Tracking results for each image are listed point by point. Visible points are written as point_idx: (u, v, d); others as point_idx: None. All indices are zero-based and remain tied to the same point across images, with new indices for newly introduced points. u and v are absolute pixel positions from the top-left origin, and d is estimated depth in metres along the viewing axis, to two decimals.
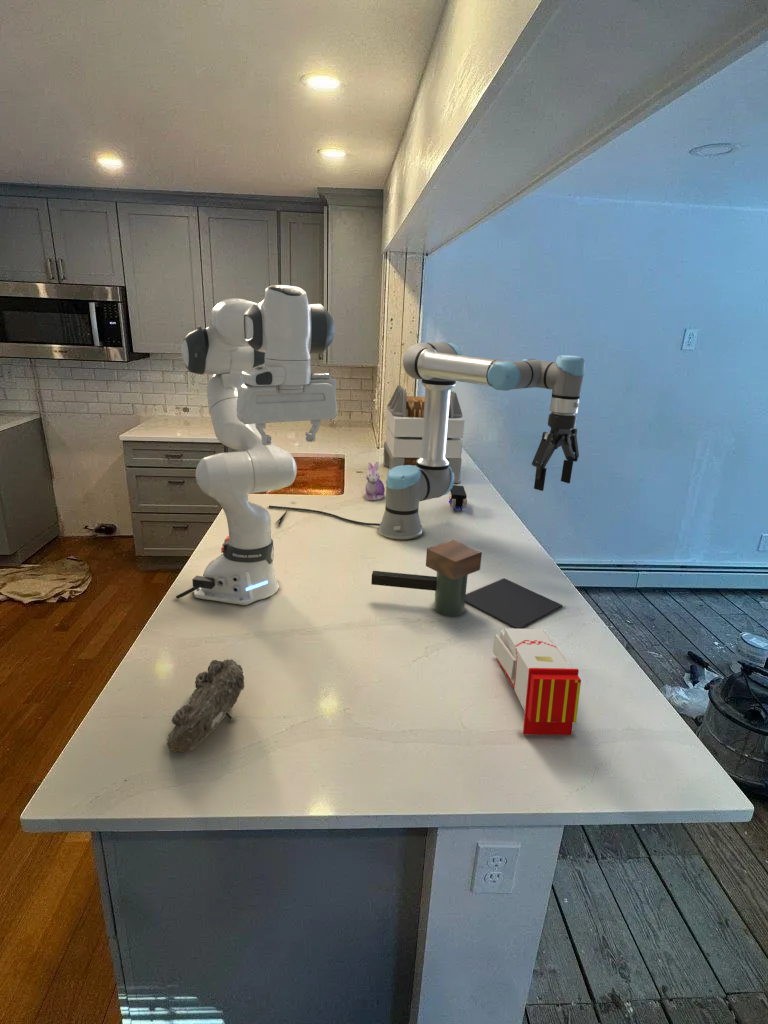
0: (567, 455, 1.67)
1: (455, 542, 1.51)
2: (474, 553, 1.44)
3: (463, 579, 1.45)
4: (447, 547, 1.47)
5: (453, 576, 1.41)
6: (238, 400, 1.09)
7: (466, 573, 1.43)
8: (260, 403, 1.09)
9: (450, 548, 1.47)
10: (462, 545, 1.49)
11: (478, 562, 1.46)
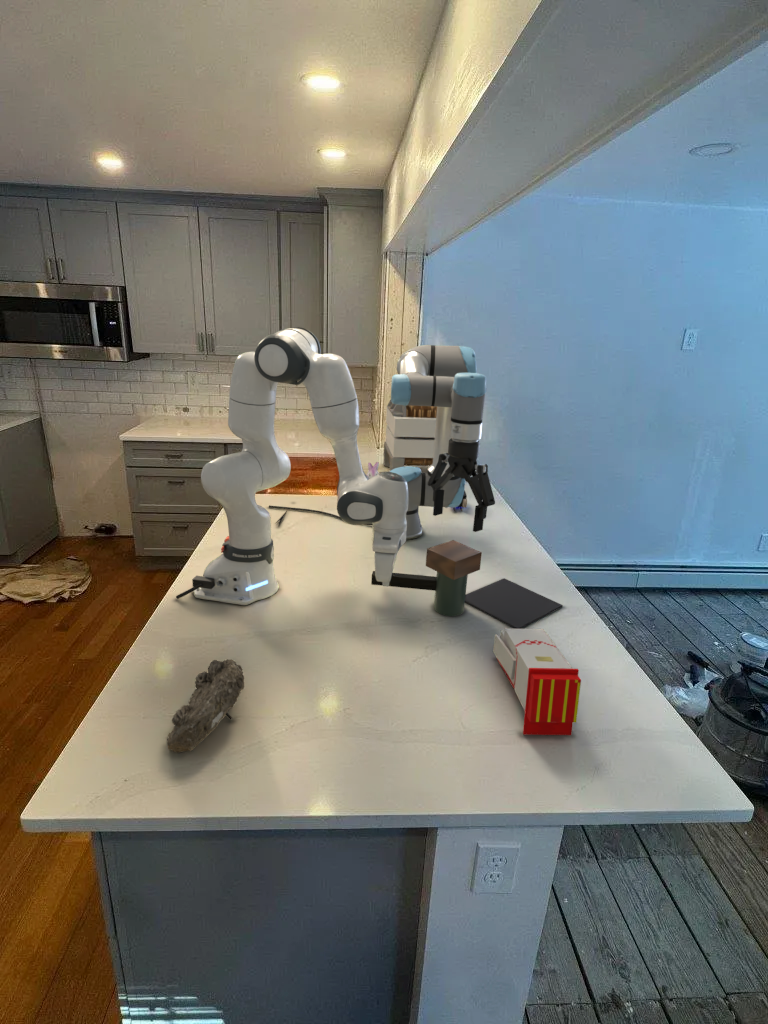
0: None
1: (455, 542, 1.51)
2: (474, 553, 1.44)
3: (463, 578, 1.45)
4: (447, 547, 1.47)
5: (453, 576, 1.41)
6: (379, 566, 1.39)
7: (466, 573, 1.43)
8: None
9: (450, 548, 1.47)
10: (462, 545, 1.49)
11: (478, 562, 1.46)
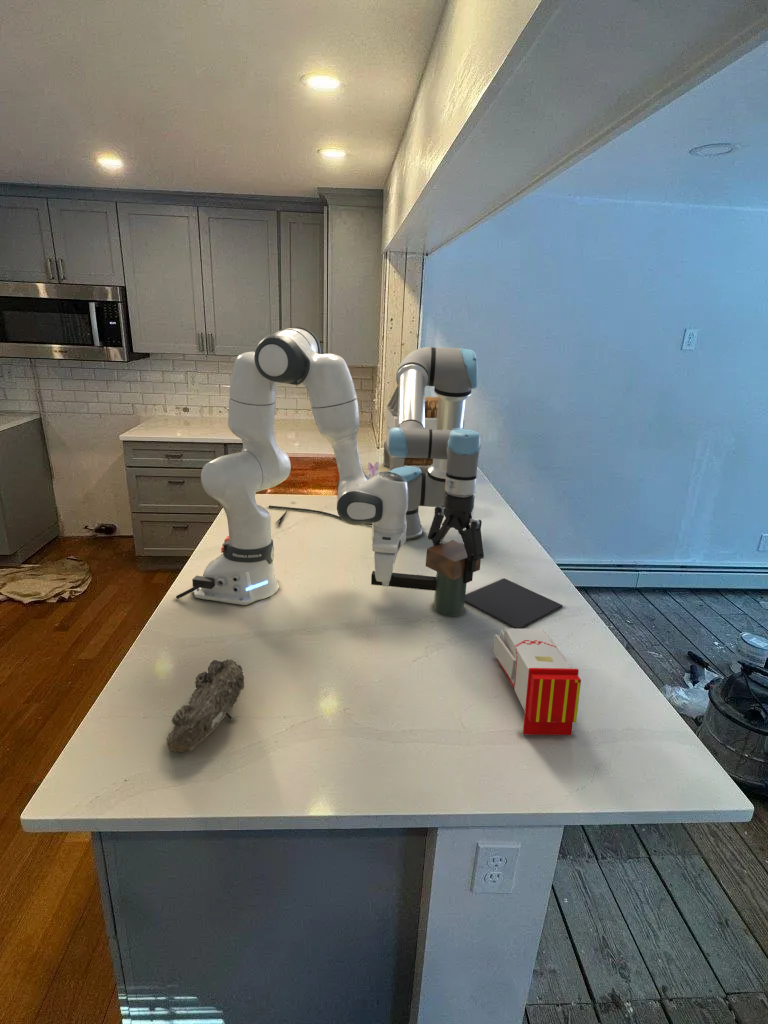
0: None
1: (455, 542, 1.50)
2: None
3: None
4: (446, 547, 1.47)
5: (453, 576, 1.41)
6: (378, 566, 1.39)
7: None
8: None
9: (450, 548, 1.47)
10: (462, 545, 1.49)
11: (478, 562, 1.46)
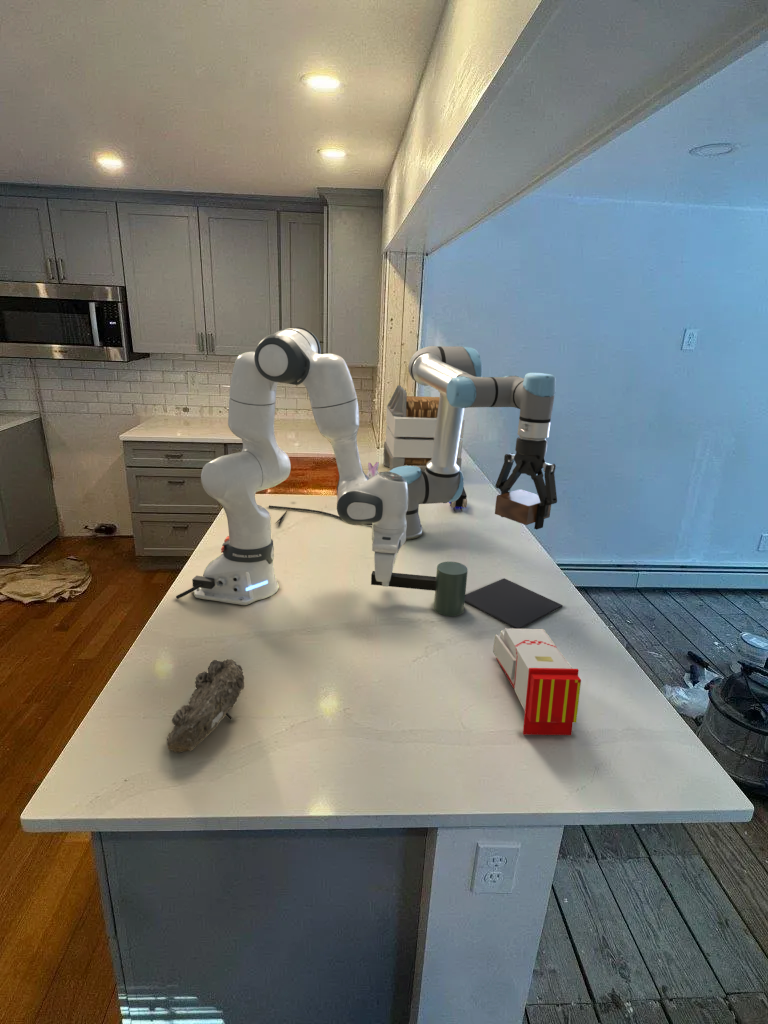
0: None
1: (523, 491, 1.50)
2: None
3: (463, 579, 1.45)
4: (516, 494, 1.47)
5: (526, 521, 1.40)
6: (378, 566, 1.39)
7: None
8: None
9: (520, 495, 1.47)
10: (531, 493, 1.48)
11: (548, 509, 1.45)
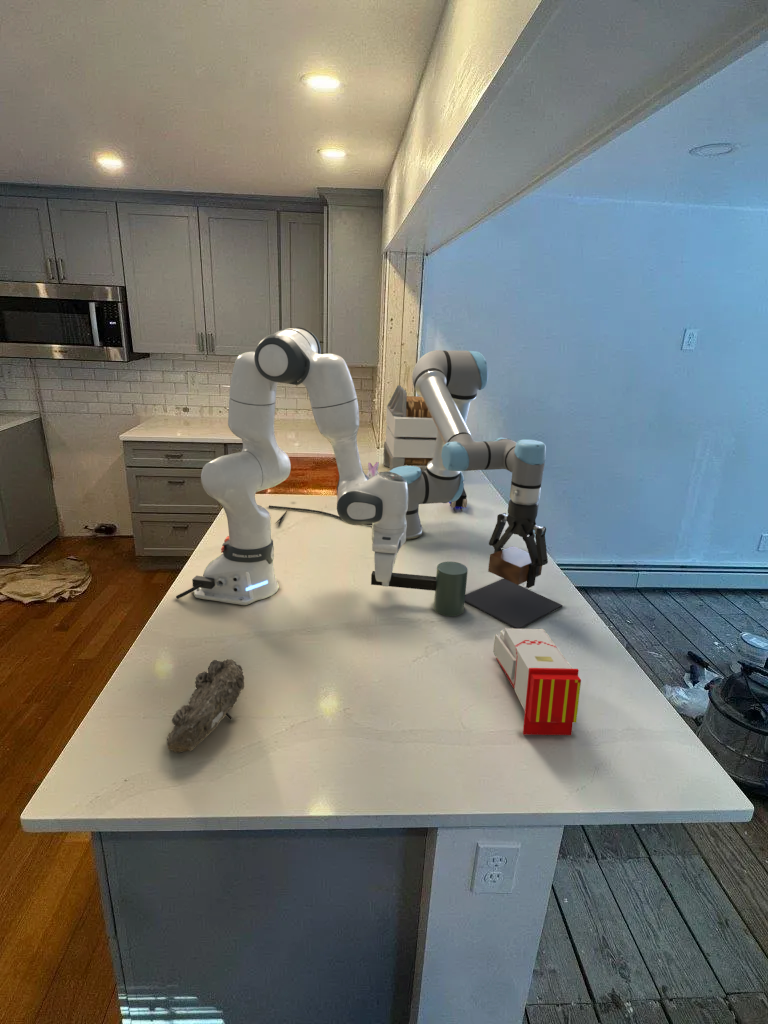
0: None
1: (515, 548, 1.56)
2: None
3: (463, 579, 1.45)
4: (508, 553, 1.52)
5: (518, 581, 1.46)
6: (378, 566, 1.39)
7: None
8: None
9: (512, 553, 1.52)
10: (523, 551, 1.54)
11: (540, 568, 1.51)
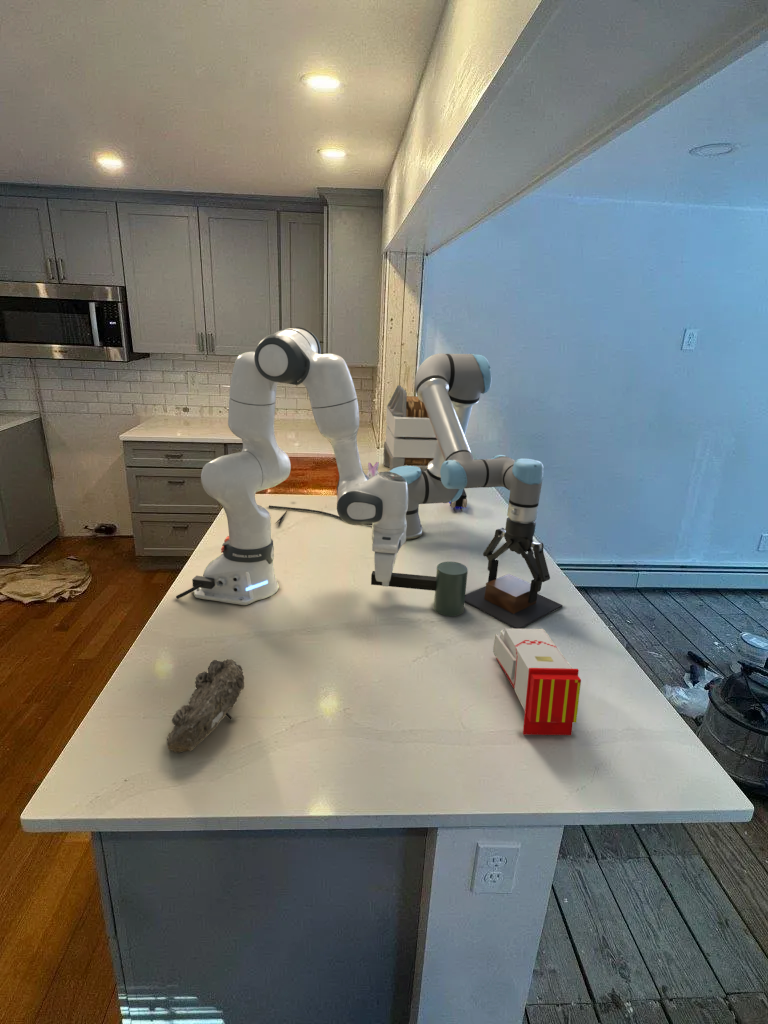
0: None
1: (511, 576, 1.59)
2: None
3: (463, 578, 1.45)
4: (504, 581, 1.56)
5: (513, 610, 1.49)
6: (378, 566, 1.39)
7: (524, 607, 1.52)
8: None
9: (508, 582, 1.55)
10: (518, 579, 1.57)
11: None
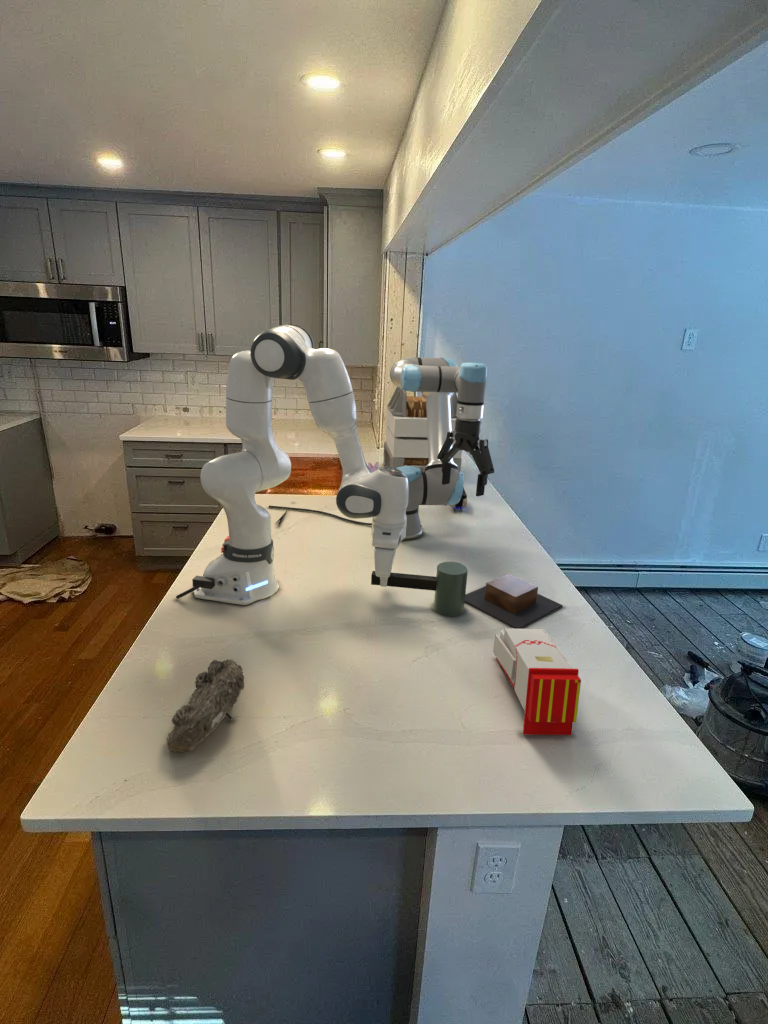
0: None
1: (511, 576, 1.59)
2: (531, 588, 1.52)
3: (463, 578, 1.45)
4: (504, 581, 1.56)
5: (513, 610, 1.49)
6: (378, 562, 1.39)
7: (524, 607, 1.52)
8: None
9: (508, 582, 1.55)
10: (518, 579, 1.57)
11: (535, 596, 1.54)
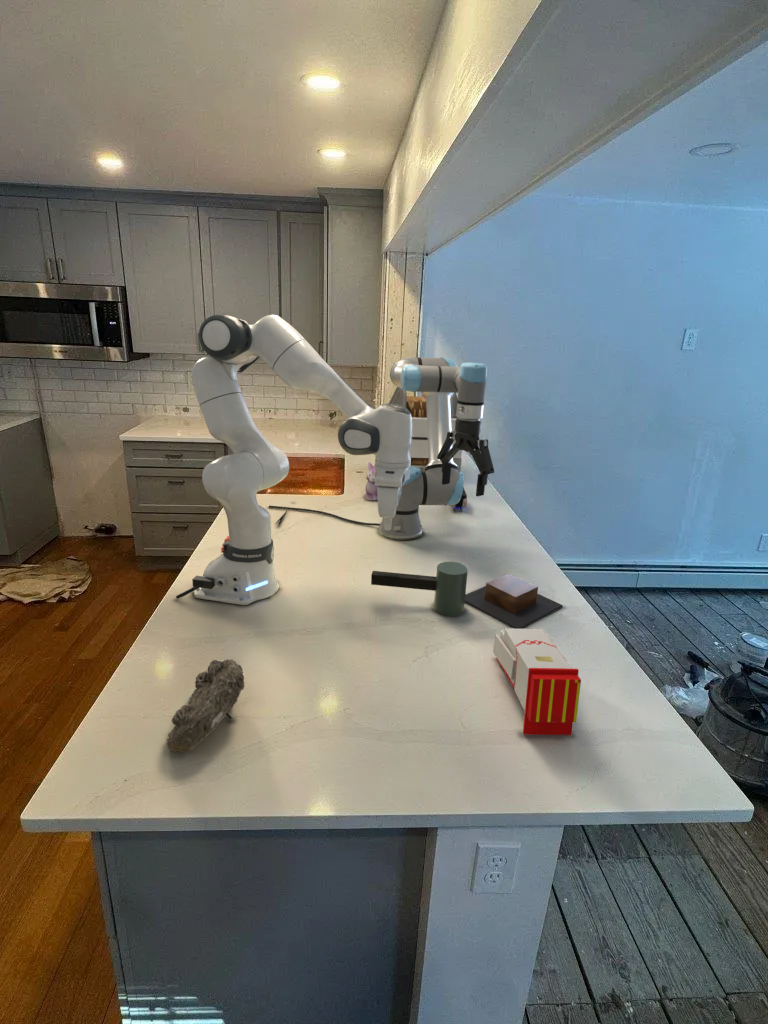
0: None
1: (511, 576, 1.59)
2: (531, 588, 1.52)
3: (463, 578, 1.45)
4: (504, 581, 1.56)
5: (513, 610, 1.49)
6: (382, 501, 1.33)
7: (524, 607, 1.52)
8: None
9: (508, 582, 1.55)
10: (518, 579, 1.57)
11: (535, 596, 1.54)
